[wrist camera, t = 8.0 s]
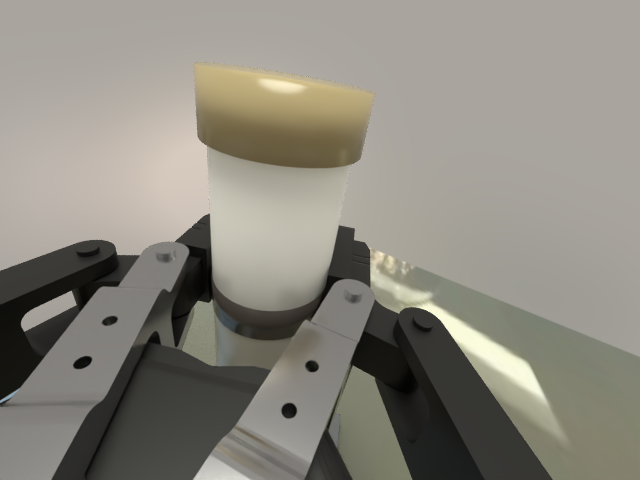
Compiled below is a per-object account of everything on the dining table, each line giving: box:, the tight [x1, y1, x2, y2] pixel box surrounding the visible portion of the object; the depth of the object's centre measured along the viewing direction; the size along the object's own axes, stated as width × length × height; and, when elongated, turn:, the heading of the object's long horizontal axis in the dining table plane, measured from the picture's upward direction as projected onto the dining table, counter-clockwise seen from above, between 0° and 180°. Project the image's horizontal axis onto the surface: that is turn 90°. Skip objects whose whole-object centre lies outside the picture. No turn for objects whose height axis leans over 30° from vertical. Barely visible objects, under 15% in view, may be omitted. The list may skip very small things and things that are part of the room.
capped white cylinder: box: [194, 62, 375, 370], centre depth 11 cm, size 4×4×14 cm
